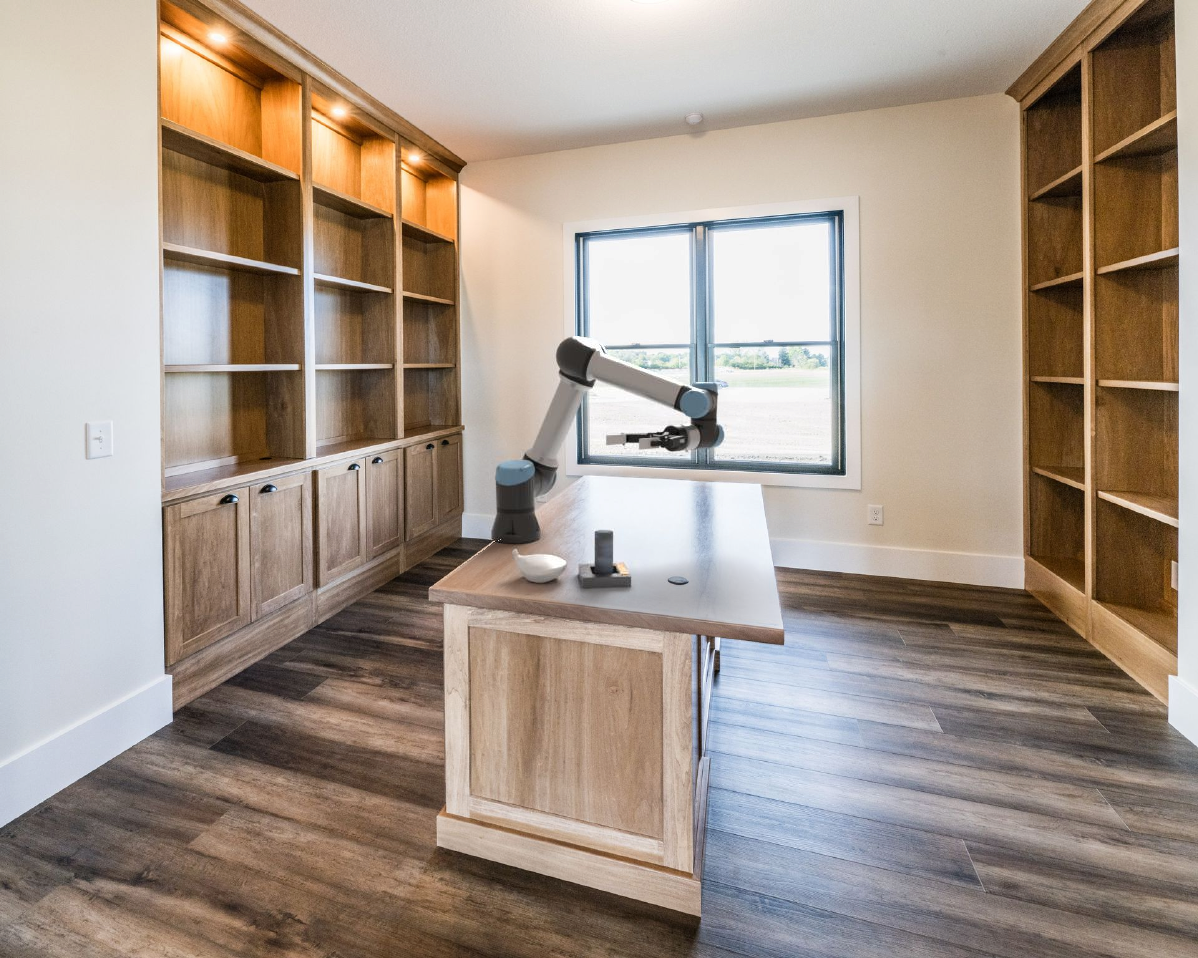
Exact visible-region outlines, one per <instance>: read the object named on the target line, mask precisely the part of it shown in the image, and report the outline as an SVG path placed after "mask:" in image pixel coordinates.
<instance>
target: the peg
mask: <svg viewBox="0 0 1198 958" xmlns="http://www.w3.org/2000/svg"><path fill="white" fill-rule="evenodd" d="M613 563H614V531H613V530H610V529H609V530H608V529H598V530H595V531H594V564H595V574H613Z"/></svg>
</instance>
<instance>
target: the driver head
mask: <svg viewBox="0 0 1198 958" xmlns="http://www.w3.org/2000/svg"><path fill="white" fill-rule="evenodd" d="M511 554H512V556H513V557H514V558H513V559H514V562H515V566H516V568H517V569H518V571H519V573H520V574H521V575H522V576H523V577H524V578H525V579H526V580H528V581H529V582H532V583H537V584H538V583H539V584H543V583H547V582H549V581H552V580H553V581H554V580H555V579H557V578H559V577H560V576H562V575H563V573H565V571H566V569H567V566H568V563H567V561H566V560H565V559H563V558H561V557H559V556H556V555H551V554H541V553H538V554H537V553H536V554H527V555H520V554H519V552H518V549H513V550H512V551H511Z"/></svg>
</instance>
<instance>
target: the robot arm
mask: <svg viewBox="0 0 1198 958" xmlns="http://www.w3.org/2000/svg"><path fill="white" fill-rule="evenodd" d="M555 359H556V364H557V366H558V367H559V368H558V369H559V371H558V374H557V375H558V376H559V378H560V381H559V383H558V385H557V388H556V390H555V393H554V395H553V397H552V400H551V401H550V403H549V407H548V408H547V411H546V414H545V416H544V419H543V421H542V423H541V426H540V428H539V431H538V433H537V436H536V438H535V440H534V443H533V445H532V446H531V448H528V449H526V450H525V451H524V455H523V456H522V459H512V460H507V461H503V462H500V463H499V464H497V466H496V468H495V476H494V480H495V499H496V501H495V504H496V514H495V518H494V520H493V525H492V528H491V532H490V533H491V534H490V535H491V540H492V541H495V542H497V543H502V544H525V543H531V542H534V541H537V540H540V539H541V537H542V536H541V535H542V534H541V533H542V532H541V527H540V524H539V520H538V518H537V516H536V511H535V509H536V508H535V506H536V505H535V503H536V502H535V501H536V499H535V498H537V497H540V496H541V497H542V496H543V495H545V494H547V493H548V492H550V491H551V490H552V489H553V488H554V486H555V485H556V482H557V477H558V474H557V473H558V472H557V471H558V468H559V466H560V464H559V461H558V456H559V455H560V452H561V450H562V447H563V445H564V444H565V440H566V438H567V436H568V433H569V431H570V429H571V426H572V423H573V422H574V420H575V417H576V414H577V413H578V410H579V408H580V405H581V403H582V401H583V398H584V396H585V394H586V392H587V391H589V390H592V389H593V388H594V386H595V384H596V382H597V381H598V382H601V383H603V384H607V385H609V386H612V387H614V388H617V389H619V390H623V391H625V392H626V393H627V392H628V393H630V394H632V395H635V396H638V397H640V398H643V399H646V400H649V401H651V402H654V403H657V404H659V405H662V406H664V407H666V408H669V409H673V410H675V411H677V412H680V413H682V414H684V415H685V416H686V417H688V418H690V423H681V424H671V425H670V424H669V425H667V426H666V427H665V428H664V429H663V430H662V431H655V432H652V431H651V432H650V431H649V432H637V433H635V432H632V433H631V432H628V433H627V432H626V433H624V432H621V433H620V434H619V433H617V434H606V435H605V445H606V446H612V445H613V446H615V445H622V446H625V444H628V443H629V444H638V450H650V449H651V450H653V449H660V448H661V449H665V450H667V451H669V452H670V453H671V452H672V453H673V452H681V451H682V452H683V451H684V452H685V453H689V451H690V450H691V451H694V450H709V449H712V448H717V447H719V446H720V445H722V443H723V442H724V439H725V431H724V428H723V426H722V425H721V424H720V423H719V422H718V419H717V418H718V417H717V416H718V396H719V392H718V384H717V383H716V382H708V381H707V382H702V381H701V382H693V383H692V385H688V384H684V383H682V382H680V381H677V380H676V379H672V378H670V377H666V376H663V375H661V374H658V373H656V372H654V371H650V370H647V369H645V368H642V367H640V366H637V365H634V364H631V363H629V362H626V361H623V360H622V359H621V360H620V359H617V358H615V357H613V356H609V355H608V353H607V350H606V348H605V346H604V345H603V344H602V343H601V342H599V341H598V340H596V339H593V338H591V337H582V336H577V335H576V336H573V335H572V336H570V337H567V338H565V339H563V340H562V341H561V342H560V343H559V345H558V347H557V349H556V354H555ZM500 539H501V540H500ZM498 540H499V541H498Z"/></svg>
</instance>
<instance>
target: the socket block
mask: <svg viewBox="0 0 1198 958" xmlns="http://www.w3.org/2000/svg"><path fill="white" fill-rule="evenodd" d="M578 576H579V581H580V583H581V587H582V589H594V588H595V589H596V588H597V589H599V588H602V589H603V588H622V587H623V588H624V587H628V588H630V587H631V588H632V575H631V573H630V572H629V569H628V568H627V566H626V564H625V563H624V562H613V574H595V563H578Z"/></svg>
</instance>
